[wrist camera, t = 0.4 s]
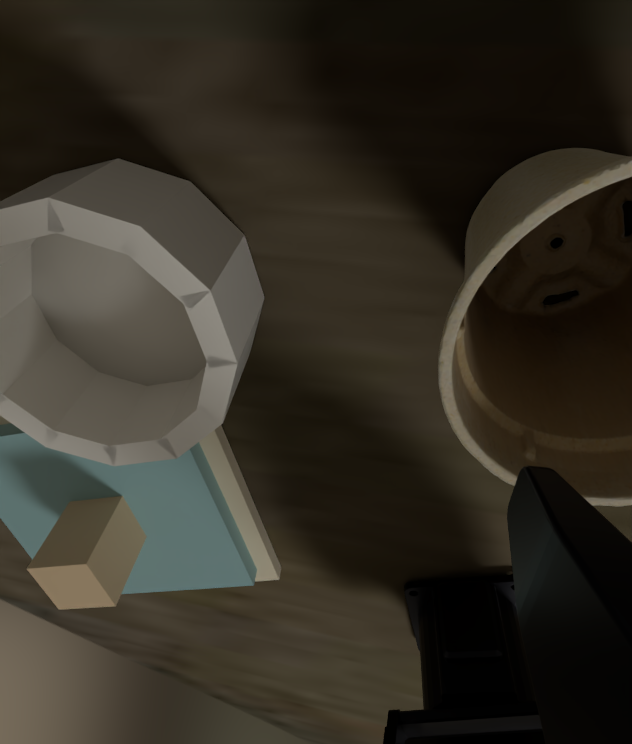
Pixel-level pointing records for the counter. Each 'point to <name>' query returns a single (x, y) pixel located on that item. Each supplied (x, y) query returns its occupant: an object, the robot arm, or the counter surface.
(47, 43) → the counter surface
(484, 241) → the flower pot
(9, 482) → the lid
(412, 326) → the counter surface
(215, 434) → the mat
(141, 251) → the bowl
